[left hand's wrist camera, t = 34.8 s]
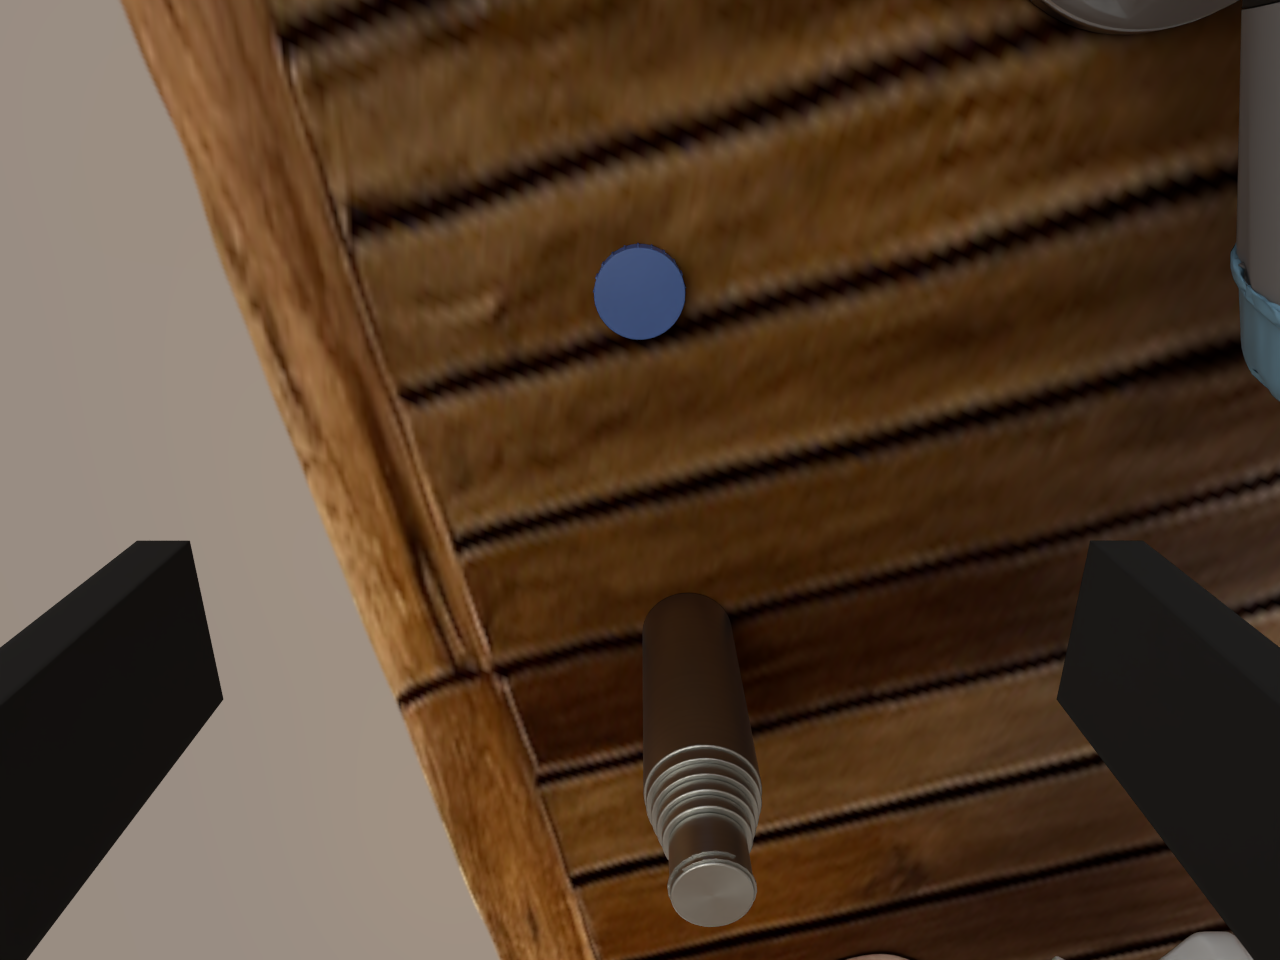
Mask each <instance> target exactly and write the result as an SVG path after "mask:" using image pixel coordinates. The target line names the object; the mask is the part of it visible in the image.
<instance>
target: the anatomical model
mask: <svg viewBox="0 0 1280 960" xmlns="http://www.w3.org/2000/svg"><path fill="white" fill-rule="evenodd" d="M846 960H909V959H906V958H902V957H899V956H895V955H888V954H870V955H863V956H858V957H854V958H850V959H846Z"/></svg>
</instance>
